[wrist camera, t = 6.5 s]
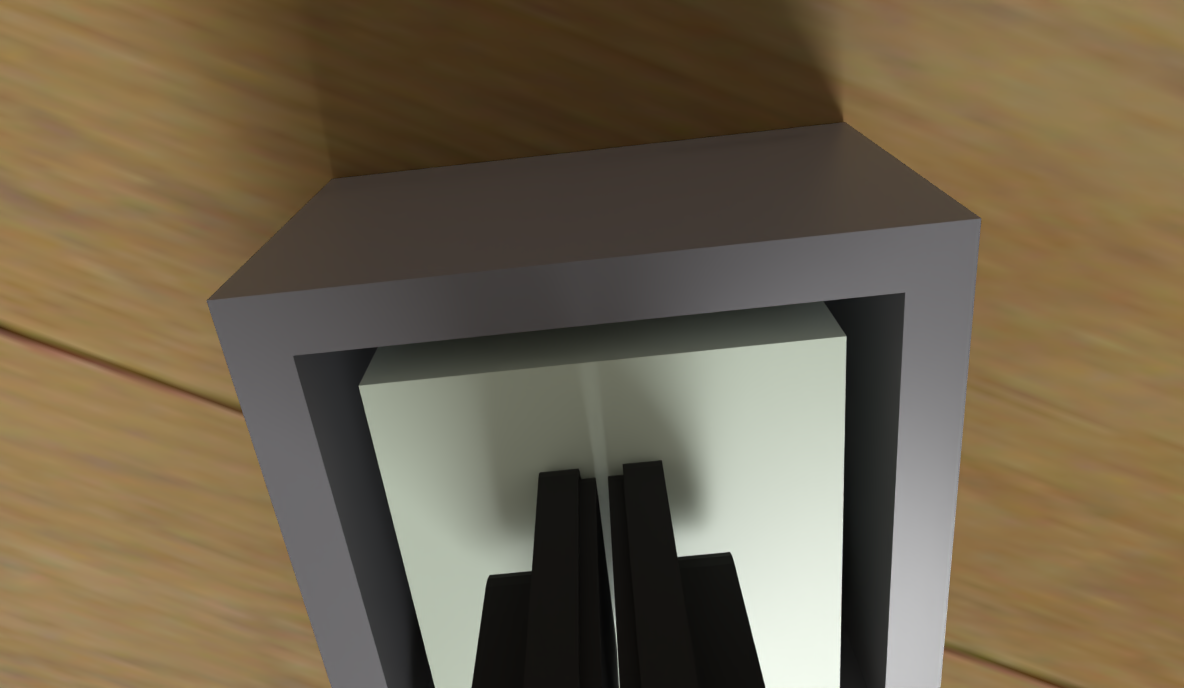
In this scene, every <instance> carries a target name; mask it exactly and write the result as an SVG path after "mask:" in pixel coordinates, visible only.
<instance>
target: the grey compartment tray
mask: <svg viewBox="0 0 1184 688" xmlns="http://www.w3.org/2000/svg"><path fill="white" fill-rule="evenodd" d="M980 227H981V218H980V217H978V216H977V215H976V214H974V213H973V212H971V211H970V210H969V209H967V208H966V207H964V206H963V205H962V204H960V203H959V202H957V201H956V200H954V199H953V198H952V197H950V196H949V195H947V194H946V193H945V192H943V191H942V190H940V189H939V188H937V187H936V186H935V185H933V184H932V183H930V182H929V181H928V180H926V179H925V178H923V177H922V176H920V175H919V174H918V173H916V172H915V171H913V170H912V169H911V168H909V167H908V166H906V165H905V164H903V163H902V162H901V161H899V160H898V159H896V158H895V157H894V156H892V155H891V154H889V153H888V152H887V151H885V150H884V149H882V148H881V147H879V146H878V145H877V144H875V143H874V142H872V141H871V140H870V139H868V138H867V137H865V136H864V135H862V134H861V133H860V132H858V131H857V130H855V129H854V128H853V127H851V126H850V125H848V124H847V123H845V122H842V123H833V124H824V125H815V126H806V127H797V128H788V129H779V130H770V131H761V132H752V133H743V134H734V135H725V136H716V137H707V138H698V139H688V140H679V141H670V142H661V143H652V144H643V145H634V146H625V147H616V148H607V149H598V150H589V151H580V152H571V153H562V154H553V155H544V156H535V157H526V158H517V159H508V160H499V161H490V162H481V163H472V164H463V165H454V166H445V167H436V168H427V169H418V170H408V171H399V172H390V173H381V174H372V175H363V176H354V177H345V178H336V179H331V180H330V181H329V182H328V183H327V184H326V185H325V186H324V187H323V188H322V189H321V190H320V191H319V192H318V193H317V194H316V195H315V196H314V197H313V198H312V199H311V200H310V201H309V202H308V203H307V204H306V205H305V206H304V207H303V208H302V209H301V210H300V211H298V212H297V213H296V214H295V215H294V216H293V217H292V218H291V219H290V220H289V221H288V222H287V223H286V224H285V225H284V226H283V227H282V228H281V229H280V230H279V231H278V232H277V233H276V234H275V235H274V236H273V237H272V238H271V239H270V240H269V241H268V242H267V243H265V244H264V245H263V246H262V247H261V248H260V249H259V250H258V251H257V252H256V253H255V254H254V255H253V256H252V257H251V258H250V259H249V260H248V261H247V262H246V263H245V264H244V265H243V266H242V267H241V268H240V269H239V270H238V271H237V272H236V273H235V274H233V275H232V276H231V277H230V278H229V279H228V280H227V281H226V282H225V283H224V284H223V285H222V286H221V287H220V288H219V289H218V290H217V291H216V292H215V293H214V294H213V295H212V296H211V297H210V298H209V299H208V300H207V303H208V306H209V310H210V313H211V316H212V319H213V322H214V325H215V328H216V331H217V334H218V337H219V340H220V344H221V347H222V350H223V353H224V356H225V359H226V362H227V365H228V368H229V371H230V375H231V378H232V381H233V384H234V387H235V390H236V393H237V396H238V399H239V402H240V405H241V409H242V412H243V415H244V418H245V421H246V424H247V427H248V430H249V433H250V436H251V439H252V443H253V446H254V449H255V452H256V455H257V458H258V461H259V464H260V467H261V470H262V474H263V477H264V480H265V483H266V486H267V489H268V492H269V495H270V498H271V501H272V504H273V508H274V511H275V514H276V517H277V520H278V523H279V526H280V529H281V532H282V535H283V538H284V542H285V545H286V548H287V551H288V554H289V557H290V560H291V563H292V566H293V569H294V573H295V576H296V579H297V582H298V585H299V588H300V591H301V594H302V597H303V600H304V603H305V607H306V610H307V613H308V616H309V619H310V622H311V625H312V628H313V631H314V634H315V637H316V641H317V644H318V647H319V650H320V653H321V656H322V659H323V662H324V665H325V668H326V672H327V675H328V678H329V681H330V684H331V687H332V688H435V685H434V681H433V678H432V674H431V670H430V666H429V662H428V658H427V654H426V650H425V646H424V642H423V638H422V634H421V630H420V626H419V622H418V618H417V614H416V611H415V607H414V603H413V599H412V595H411V591H410V587H409V583H408V579H407V575H406V571H405V567H404V563H403V559H402V555H401V551H400V547H399V543H398V540H397V536H396V532H395V528H394V524H393V520H392V516H391V512H390V508H389V504H388V500H387V496H386V492H385V488H384V484H383V480H382V476H381V472H380V469H379V465H378V461H377V457H376V453H375V449H374V445H373V441H372V437H371V433H370V429H369V425H368V421H367V417H366V413H365V409H364V405H363V401H362V398H361V394H360V390H359V384H360V382H361V380H362V378H363V376H364V374H365V372H366V370H367V368H368V366H369V364H370V362H371V360H372V358H373V356H374V354H375V352H376V350H377V348H378V347H382V346H392V345H401V344H411V343H421V342H431V341H440V340H450V339H460V338H469V337H479V336H489V335H498V334H508V333H518V332H527V331H537V330H547V329H556V328H566V327H576V326H586V325H595V324H605V323H615V322H624V321H634V320H644V319H653V318H663V317H673V316H682V315H692V314H702V313H711V312H721V311H731V310H741V309H750V308H760V307H770V306H779V305H789V304H799V303H808V302H818V301H824V303H825V304H826V306H827V307H828V309H829V310H830V312H831V314H832V315H833V317H834V318H835V320H836V321H837V323H838V324H839V326H840V327H841V329H842V330H843V332H844V333H845V335H846V336H847V337H846V389H845V440H844V492H843V544H842V596H841V647H840V688H940V686H941V674H942V663H943V651H944V640H945V628H946V617H947V605H948V594H949V582H950V571H951V559H952V548H953V536H954V525H955V514H956V502H957V491H958V479H959V468H960V456H961V445H962V433H963V422H964V410H965V399H966V387H967V376H968V364H969V353H970V341H971V330H972V319H973V307H974V296H975V284H976V273H977V261H978V250H979V238H980Z"/></svg>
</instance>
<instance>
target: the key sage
mask: <svg viewBox="0 0 1184 688" xmlns="http://www.w3.org/2000/svg"><path fill="white" fill-rule="evenodd" d="M846 337H847V336H846V335H845V333H844V332H843V330H842V329H841V327H840V326H839V324H838V323H837V321H836V320H835V318H834V317H833V315H832V314H831V312H830V310H829V309H828V307H827V306H826V304H825V303H824V301H818V302H808V303H799V304H789V305H779V306H770V307H760V308H750V309H741V310H731V311H721V312H711V313H702V314H692V315H682V316H673V317H663V318H653V319H644V320H634V321H624V322H615V323H605V324H595V325H586V326H576V327H566V328H556V329H547V330H537V331H527V332H518V333H508V334H498V335H489V336H479V337H469V338H460V339H450V340H440V341H431V342H421V343H411V344H401V345H392V346H382V347H378V348H377V350H376V352H375V354H374V356H373V358H372V360H371V362H370V364H369V366H368V368H367V370H366V372H365V374H364V376H363V378H362V380H361V382H360V384H359V390H360V394H361V398H362V401H363V405H364V409H365V413H366V417H367V421H368V425H369V429H370V433H371V437H372V441H373V445H374V449H375V453H376V457H377V461H378V465H379V469H380V472H381V476H382V480H383V484H384V488H385V492H386V496H387V500H388V504H389V508H390V512H391V516H392V520H393V524H394V528H395V532H396V536H397V540H398V543H399V547H400V551H401V555H402V559H403V563H404V567H405V571H406V575H407V579H408V583H409V587H410V591H411V595H412V599H413V603H414V607H415V611H416V614H417V618H418V622H419V626H420V630H421V634H422V638H423V642H424V646H425V650H426V654H427V658H428V662H429V666H430V670H431V674H432V678H433V681H434V685H435V688H471V687H472V680H473V673H474V666H475V659H476V652H477V645H478V638H479V630H480V623H481V616H482V609H483V602H484V595H485V588H486V583H487V579H488V577H489V575H495V574H505V573H515V572H526V571H532V559H533V546H534V532H535V518H536V504H537V490H538V477H539V473H540V472H548V471H558V470H568V469H578V468H579V470H580V475H581V479H585V478H596V483H597V491H598V499H599V507H600V514H601V522H602V530H603V538H604V546H605V554H606V562H607V569H608V577H609V585H610V593H611V601H612V609H613V617H614V625H615V633H616V615H615V597H614V579H613V561H612V544H611V526H610V508H609V490H608V476H615V475H623V464H628V463H638V462H648V461H658V460H662V464H663V470H664V476H665V482H666V489H667V495H668V501H669V507H670V513H671V520H672V526H673V532H674V538H675V544H676V551H677V557H682V556H692V555H703V554H713V553H724V552H730V553H731V554H732V557H733V560H734V563H735V567H736V571H737V575H738V579H739V583H740V587H741V591H742V595H743V599H744V603H745V607H746V611H747V615H748V619H749V623H750V627H751V631H752V635H753V639H754V643H755V647H756V651H757V655H758V659H759V663H760V667H761V671H762V675H763V679H764V683H765V687H766V688H840V647H841V596H842V544H843V492H844V440H845V389H846ZM616 644H617V633H616ZM617 657H618V651H617ZM618 675H619V668H618ZM619 688H620V684H619Z"/></svg>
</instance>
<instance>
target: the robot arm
mask: <svg viewBox="0 0 1184 688" xmlns="http://www.w3.org/2000/svg"><path fill="white" fill-rule="evenodd" d="M608 490H609V508H610V526H611V544H612V561H613V579H614V597H615V615H616V633H617V644H616V633H615V625H614V617H613V609H612V601H611V593H610V585H609V577H608V569H607V562H606V554H605V546H604V538H603V530H602V522H601V514H600V507H599V499H598V491H597V483H596V478H585V479H581V475H580V470H579V468H578V469H568V470H558V471H548V472H540V473H539V477H538V490H537V504H536V518H535V532H534V546H533V559H532V571H526V572H515V573H505V574H495V575H489V577H488V579H487V583H486V588H485V595H484V602H483V609H482V616H481V623H480V630H479V638H478V645H477V652H476V659H475V666H474V673H473V680H472V687H471V688H619V684H620V688H766V687H765V683H764V679H763V675H762V671H761V667H760V663H759V659H758V655H757V651H756V647H755V643H754V639H753V635H752V631H751V627H750V623H749V619H748V615H747V611H746V607H745V603H744V599H743V595H742V591H741V587H740V583H739V579H738V575H737V571H736V567H735V563H734V560H733V557H732V554H731V553H730V552H724V553H713V554H703V555H692V556H682V557H677V551H676V544H675V538H674V532H673V526H672V520H671V513H670V507H669V501H668V495H667V489H666V482H665V476H664V470H663V464H662V460H658V461H648V462H638V463H628V464H623V475H615V476H608ZM617 651H618V657H617ZM618 668H619V675H618Z"/></svg>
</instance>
